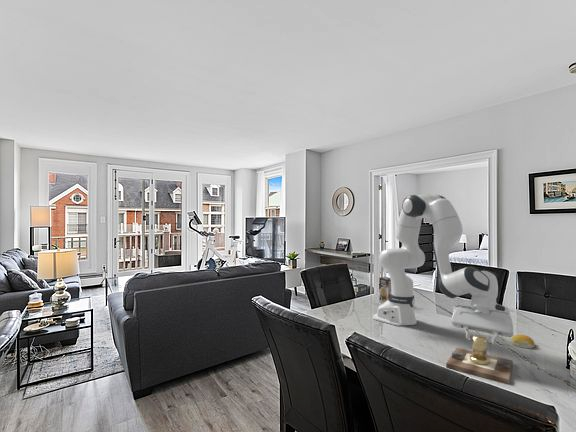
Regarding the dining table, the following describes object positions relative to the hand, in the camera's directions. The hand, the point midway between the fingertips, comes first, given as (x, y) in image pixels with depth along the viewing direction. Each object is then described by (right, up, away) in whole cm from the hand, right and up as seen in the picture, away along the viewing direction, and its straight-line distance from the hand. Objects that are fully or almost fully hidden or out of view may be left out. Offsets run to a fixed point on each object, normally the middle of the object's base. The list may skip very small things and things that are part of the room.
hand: (479, 341), depth 117 cm
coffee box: (-7, -10, +87) cm, 88 cm away
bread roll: (+31, -10, +20) cm, 38 cm away
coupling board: (0, -9, 0) cm, 9 cm away
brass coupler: (0, -8, 0) cm, 8 cm away
